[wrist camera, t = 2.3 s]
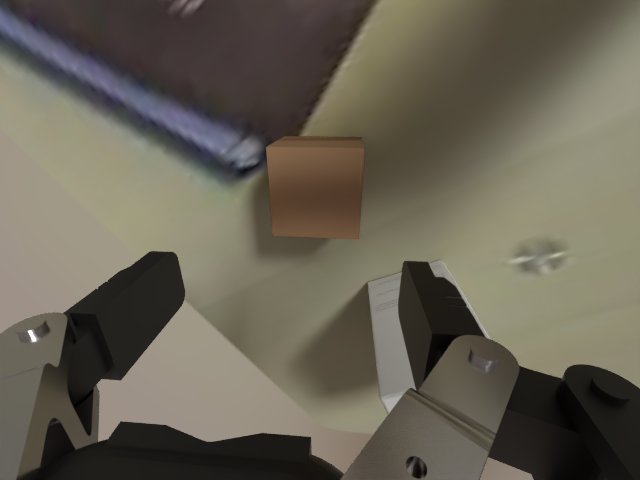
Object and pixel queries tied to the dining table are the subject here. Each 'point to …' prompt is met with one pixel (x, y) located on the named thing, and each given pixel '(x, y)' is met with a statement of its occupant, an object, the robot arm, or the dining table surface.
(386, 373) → the supplement box
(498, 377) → the robot arm
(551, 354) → the dining table surface
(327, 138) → the walnut block
